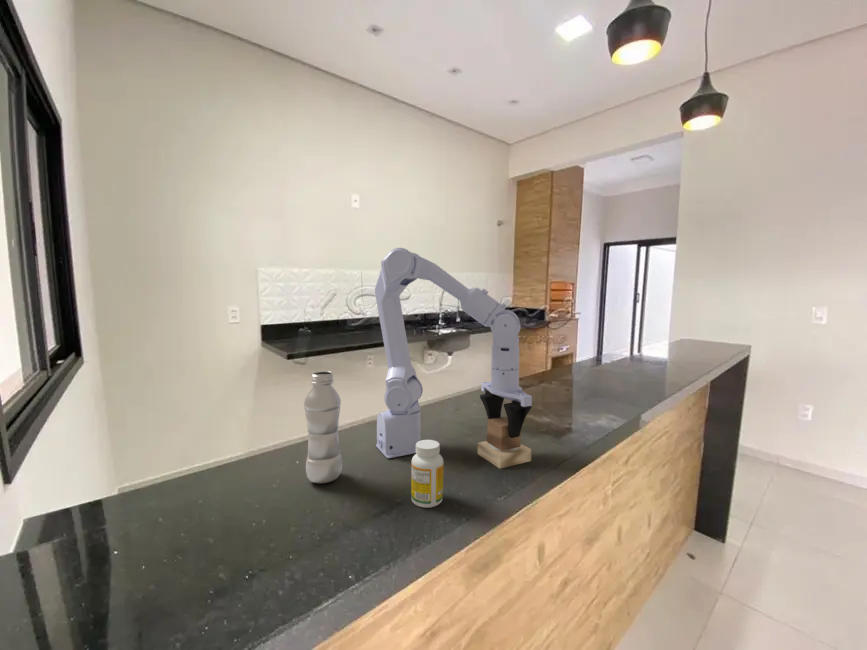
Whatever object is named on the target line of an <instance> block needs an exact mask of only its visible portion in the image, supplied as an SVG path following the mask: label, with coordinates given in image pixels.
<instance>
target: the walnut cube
mask: <svg viewBox="0 0 867 650" xmlns="http://www.w3.org/2000/svg"><path fill="white" fill-rule="evenodd" d="M486 426H487V427H486V429H487V431H486V441H487V443H489V444H491V445H493V446H494V447H496V448H498V449H500V450H506V449H511V448H516V447H521V444H522V443H521V441H522V439H521V438H522V431H521V432H520V436H519V437H515V438H511V437H509V431H508V418H507V416H502V417H500V418H493V419H488V418H487V425H486Z"/></svg>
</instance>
